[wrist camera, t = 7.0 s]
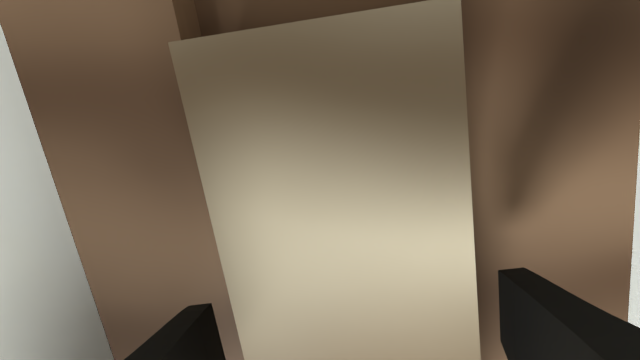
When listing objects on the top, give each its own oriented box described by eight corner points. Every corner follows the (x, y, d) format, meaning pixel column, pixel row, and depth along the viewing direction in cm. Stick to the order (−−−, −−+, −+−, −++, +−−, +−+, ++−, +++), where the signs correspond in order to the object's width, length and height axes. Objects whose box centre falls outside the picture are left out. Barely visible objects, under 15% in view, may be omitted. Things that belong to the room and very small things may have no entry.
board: (572, 484, 20) (612, 559, 17) (211, 513, 21) (192, 588, 18) (586, -86, 13) (654, -117, 11) (58, 2, 15) (-9, -5, 12)
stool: (236, 36, 14) (168, 42, 8) (406, 8, 13) (460, -6, 8) (310, 411, 18) (300, 589, 12) (441, 398, 18) (492, 576, 12)
